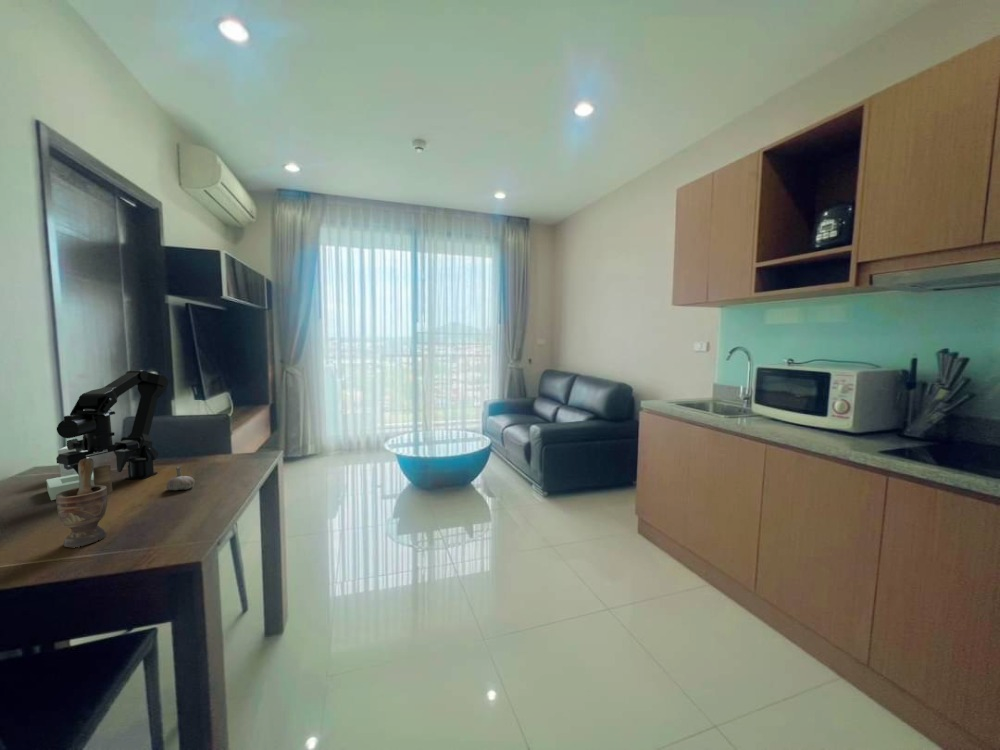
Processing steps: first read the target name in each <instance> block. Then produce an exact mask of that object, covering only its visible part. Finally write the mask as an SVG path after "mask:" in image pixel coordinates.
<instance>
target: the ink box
mask: <svg viewBox="0 0 1000 750" xmlns="http://www.w3.org/2000/svg"><path fill="white" fill-rule="evenodd" d="M72 451H76V449H73V450H68V448H67V445H65V446H64V447H61V448H58V449H57V453H58V455H59V454H62V453H67V452H72ZM86 451H88V450H85V451H83V450H82V451H80V452H86ZM58 455H57V456H58ZM86 458H90V457H86ZM58 464H59V463H58ZM59 473H60V474H59V475H60V477H63V476H69V475H74V474H77V472H76V471H75V470H74V469H73V468H72V467H71V466H69V465H64V464H59Z"/></svg>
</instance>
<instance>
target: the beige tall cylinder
mask: <svg viewBox="0 0 1000 750" xmlns="http://www.w3.org/2000/svg"><path fill="white" fill-rule="evenodd" d="M111 469H112V468H111V465H109V464H108V465H107V464H106V465H98V466H96V467H95V466H94V469H93V477H94V485H96V486H98V485H102V486H106V488H107V495H109V494H112V493H113V483H112V470H111Z"/></svg>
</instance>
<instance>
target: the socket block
mask: <svg viewBox="0 0 1000 750" xmlns="http://www.w3.org/2000/svg"><path fill="white" fill-rule="evenodd" d="M91 486H94V477H93V473H92V476H91ZM46 487H47V488H46V490H47V493H48V496H49V499H50V501H54V500H56V495H57V494H59V493H61V492H64V491H67V490H70V489H74V488H79V475H78V474H74V475H69V476H63V477H61V476H59V477H54V478H48V479H46Z"/></svg>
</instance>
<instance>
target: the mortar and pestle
mask: <svg viewBox="0 0 1000 750" xmlns="http://www.w3.org/2000/svg"><path fill="white" fill-rule="evenodd" d="M94 468H95V461H94V458H91V457H89V458H85V459H82V460H80V461H79V463H78V474H79V488H74V489H70V490H67V491H64V492H61V493H59V494H57V495H56V499H55V500H56V501H55V502H56V509H57V515H58V518H59V520H60V523H61V524H62V525H63V526H64V527H66V528H68V529H70V531H71V533H70V534H68V535H67V536H66V537H65V538H64V540H63V543H62V544H63V547H65V548H75V547H78V548H81V547H84V546H88V545H90V544H93V543H96V542H98V540H99V541H100V540H102V539H104V538H105V537H106V536H107V532H106V531H105V529H103V528H102V527H100V526H99V525H98V524H99V522H100V521H102V519H103V518H104V517H105V515H106V511H107V508H108V507H107V506H108V494H107V488H106V486H102V485H98V486H96V485H94V486H91V476H92V473H93V469H94ZM80 546H81V547H80ZM75 549H76V548H75Z"/></svg>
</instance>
